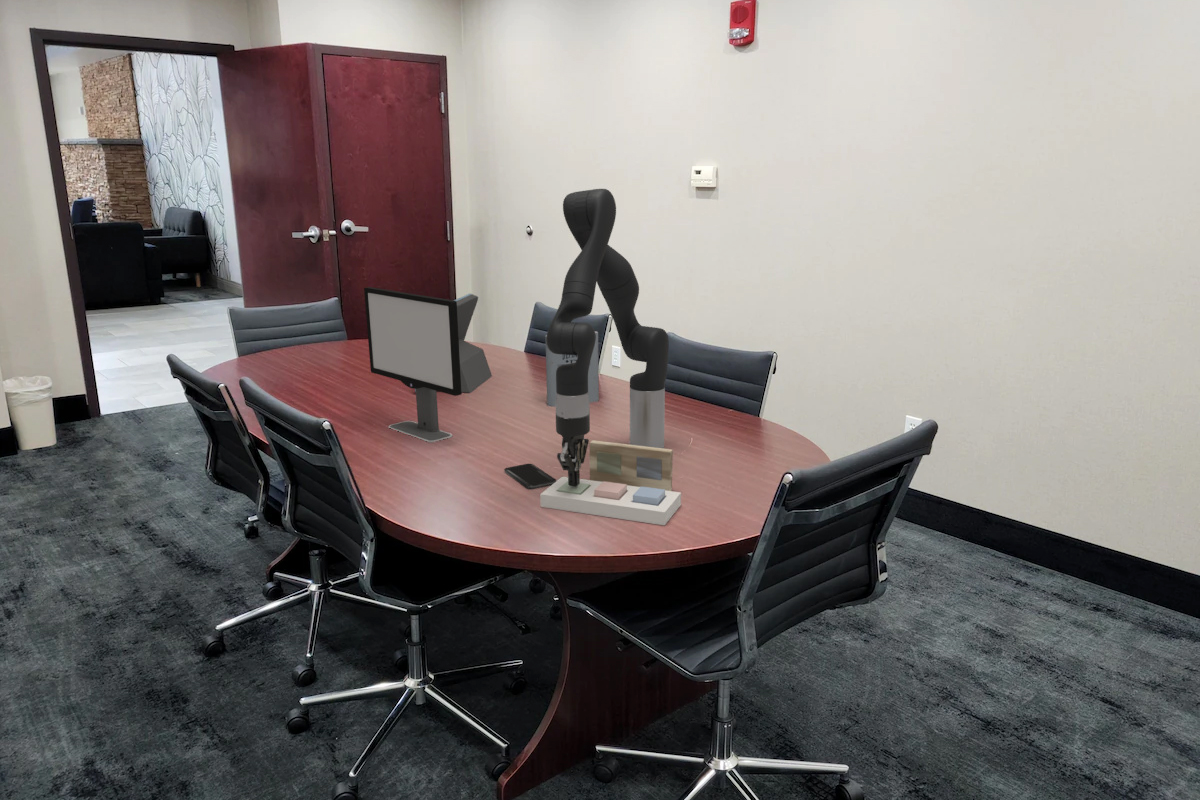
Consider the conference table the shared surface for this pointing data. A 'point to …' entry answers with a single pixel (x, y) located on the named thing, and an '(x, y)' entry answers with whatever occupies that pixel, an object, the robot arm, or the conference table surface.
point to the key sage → (574, 488)
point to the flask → (558, 360)
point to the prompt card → (631, 465)
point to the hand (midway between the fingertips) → (573, 485)
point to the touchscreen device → (470, 348)
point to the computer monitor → (415, 351)
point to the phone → (530, 476)
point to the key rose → (610, 490)
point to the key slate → (649, 496)
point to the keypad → (610, 503)
